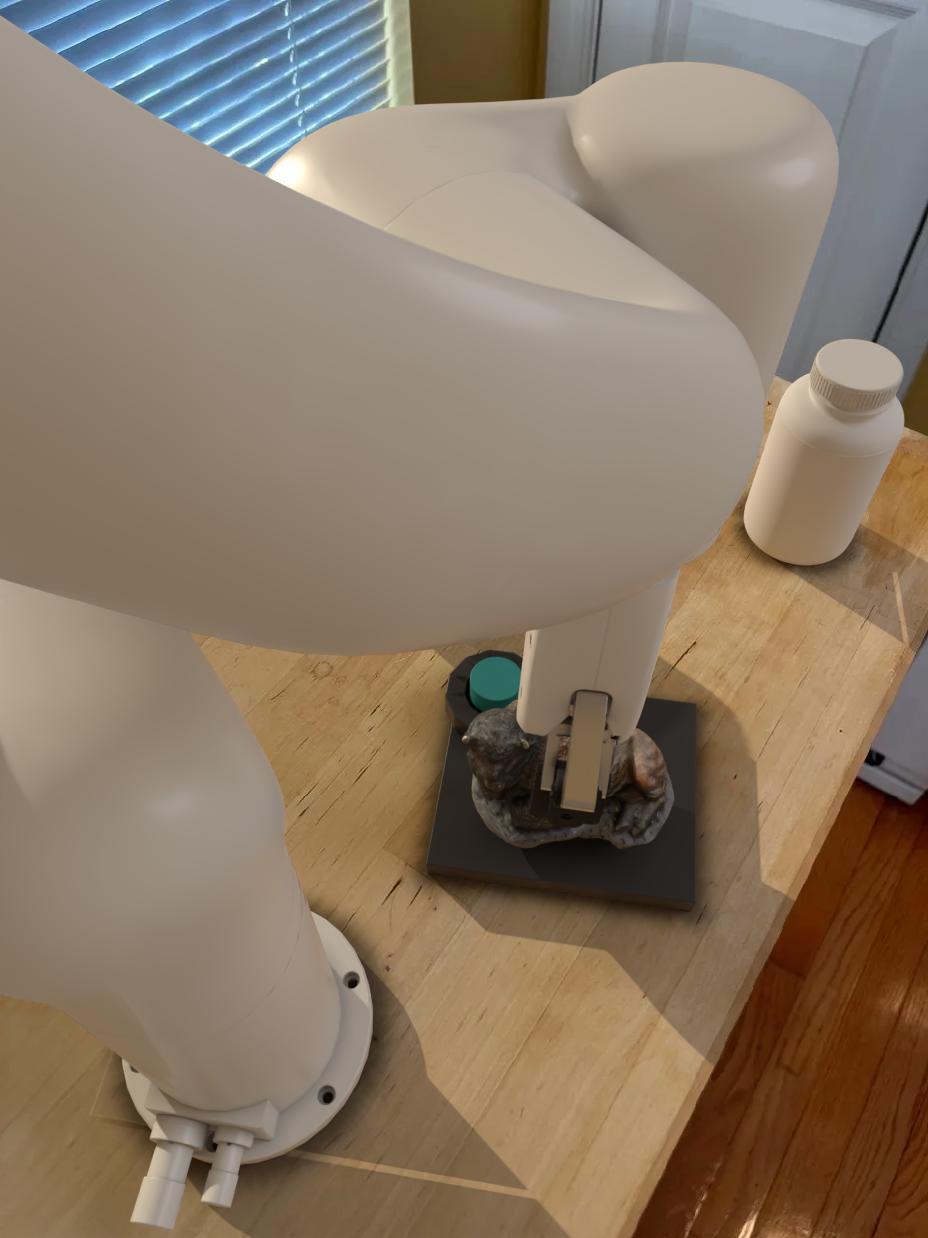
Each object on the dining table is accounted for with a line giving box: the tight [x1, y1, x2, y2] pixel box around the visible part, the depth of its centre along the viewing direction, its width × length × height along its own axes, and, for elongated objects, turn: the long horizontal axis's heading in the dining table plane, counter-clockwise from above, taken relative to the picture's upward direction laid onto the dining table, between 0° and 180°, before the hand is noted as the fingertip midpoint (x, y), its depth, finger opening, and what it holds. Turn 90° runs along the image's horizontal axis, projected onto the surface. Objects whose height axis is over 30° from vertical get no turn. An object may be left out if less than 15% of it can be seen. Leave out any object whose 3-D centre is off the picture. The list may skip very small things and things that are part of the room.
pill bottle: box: [743, 338, 905, 566], centre depth 64 cm, size 8×8×15 cm
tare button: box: [470, 657, 521, 712], centre depth 57 cm, size 3×3×2 cm
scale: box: [425, 649, 697, 912], centre depth 56 cm, size 14×16×3 cm
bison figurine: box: [462, 700, 674, 849], centre depth 50 cm, size 12×7×10 cm, turn 96°
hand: (572, 726), depth 46 cm, fingers open, 9 cm apart
